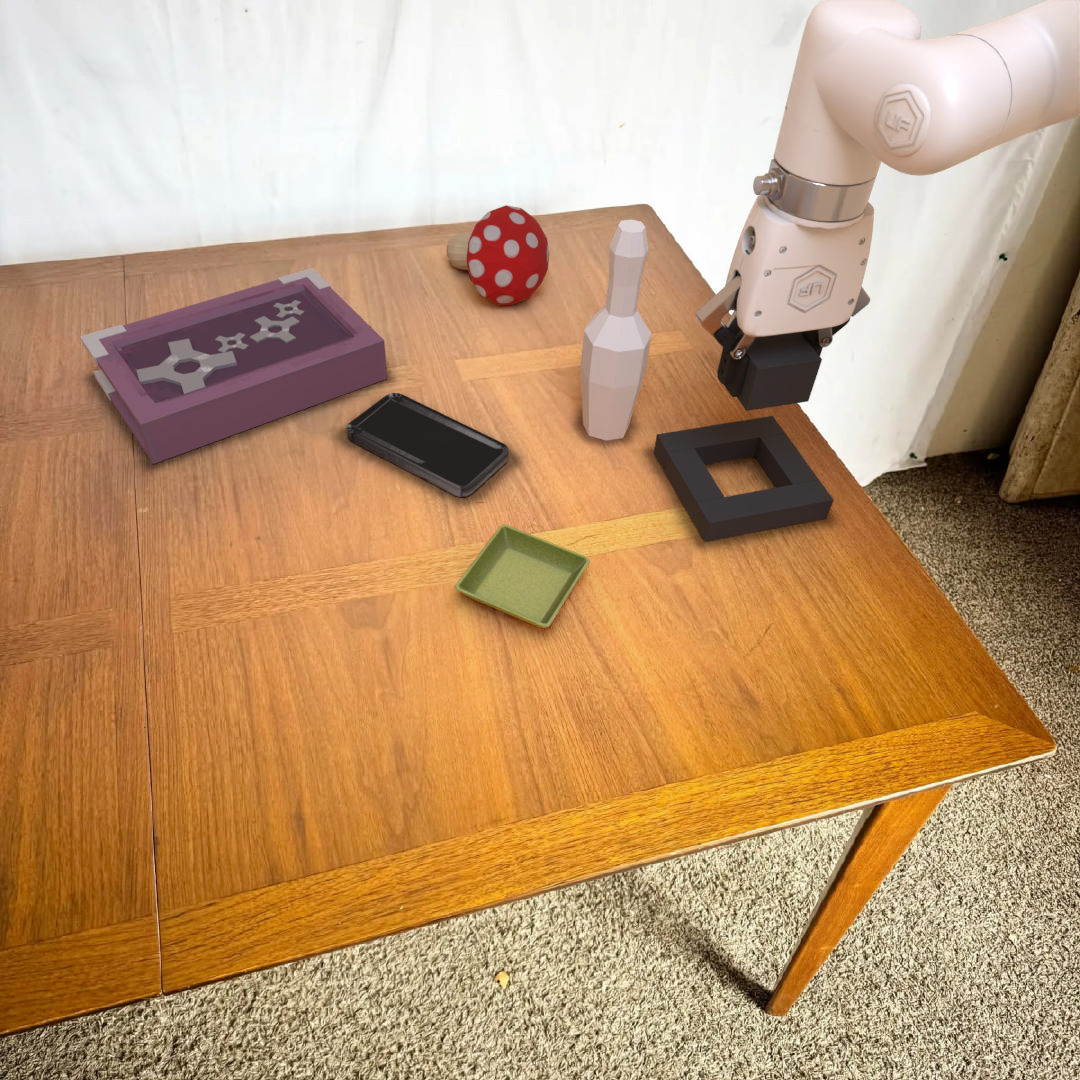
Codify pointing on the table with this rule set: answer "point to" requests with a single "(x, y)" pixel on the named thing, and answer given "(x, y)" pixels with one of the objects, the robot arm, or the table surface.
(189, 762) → the table surface
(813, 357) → the black square block
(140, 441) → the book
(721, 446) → the frame pad
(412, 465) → the phone
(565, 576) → the green square tray
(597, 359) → the faceted bottle
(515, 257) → the decorative mushroom
